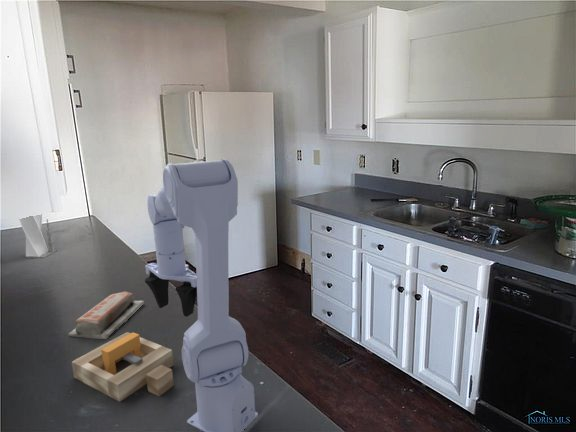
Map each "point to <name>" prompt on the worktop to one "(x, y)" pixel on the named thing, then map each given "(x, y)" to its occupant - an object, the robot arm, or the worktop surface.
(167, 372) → the wooden cube
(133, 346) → the wooden block
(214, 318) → the robot arm
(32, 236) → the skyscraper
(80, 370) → the birch drawer
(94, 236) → the worktop surface
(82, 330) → the packaged product
